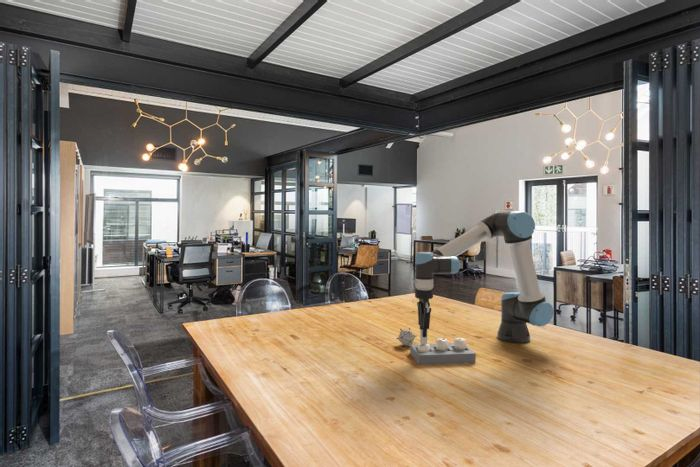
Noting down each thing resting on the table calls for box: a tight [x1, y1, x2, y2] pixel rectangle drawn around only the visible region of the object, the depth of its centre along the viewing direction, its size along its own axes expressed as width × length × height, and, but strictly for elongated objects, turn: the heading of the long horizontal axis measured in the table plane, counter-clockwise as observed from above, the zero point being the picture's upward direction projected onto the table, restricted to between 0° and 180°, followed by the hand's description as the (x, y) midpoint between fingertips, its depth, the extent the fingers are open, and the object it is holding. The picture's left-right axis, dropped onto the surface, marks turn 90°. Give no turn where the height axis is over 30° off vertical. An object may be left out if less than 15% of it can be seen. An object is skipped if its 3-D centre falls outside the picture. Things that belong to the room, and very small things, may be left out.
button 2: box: [435, 337, 449, 351], centre depth 171 cm, size 5×5×5 cm
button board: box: [409, 342, 477, 366], centre depth 172 cm, size 24×14×4 cm, turn 96°
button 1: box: [453, 337, 467, 351], centre depth 172 cm, size 5×5×5 cm
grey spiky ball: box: [396, 327, 417, 348], centre depth 188 cm, size 9×8×10 cm
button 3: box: [417, 342, 430, 352], centre depth 171 cm, size 5×5×5 cm
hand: (423, 343), depth 171 cm, fingers closed
